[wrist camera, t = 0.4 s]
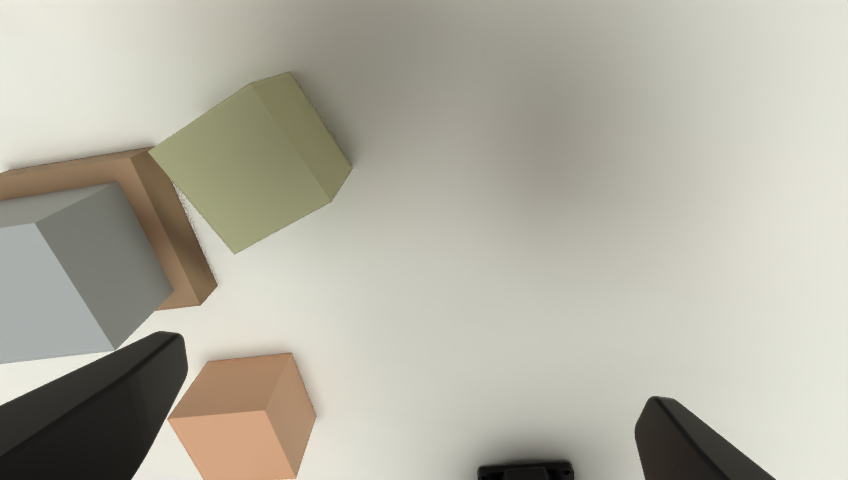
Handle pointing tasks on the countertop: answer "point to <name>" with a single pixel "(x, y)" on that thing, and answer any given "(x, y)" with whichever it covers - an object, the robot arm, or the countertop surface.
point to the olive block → (255, 161)
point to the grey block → (74, 273)
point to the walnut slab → (149, 203)
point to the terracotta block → (246, 419)
